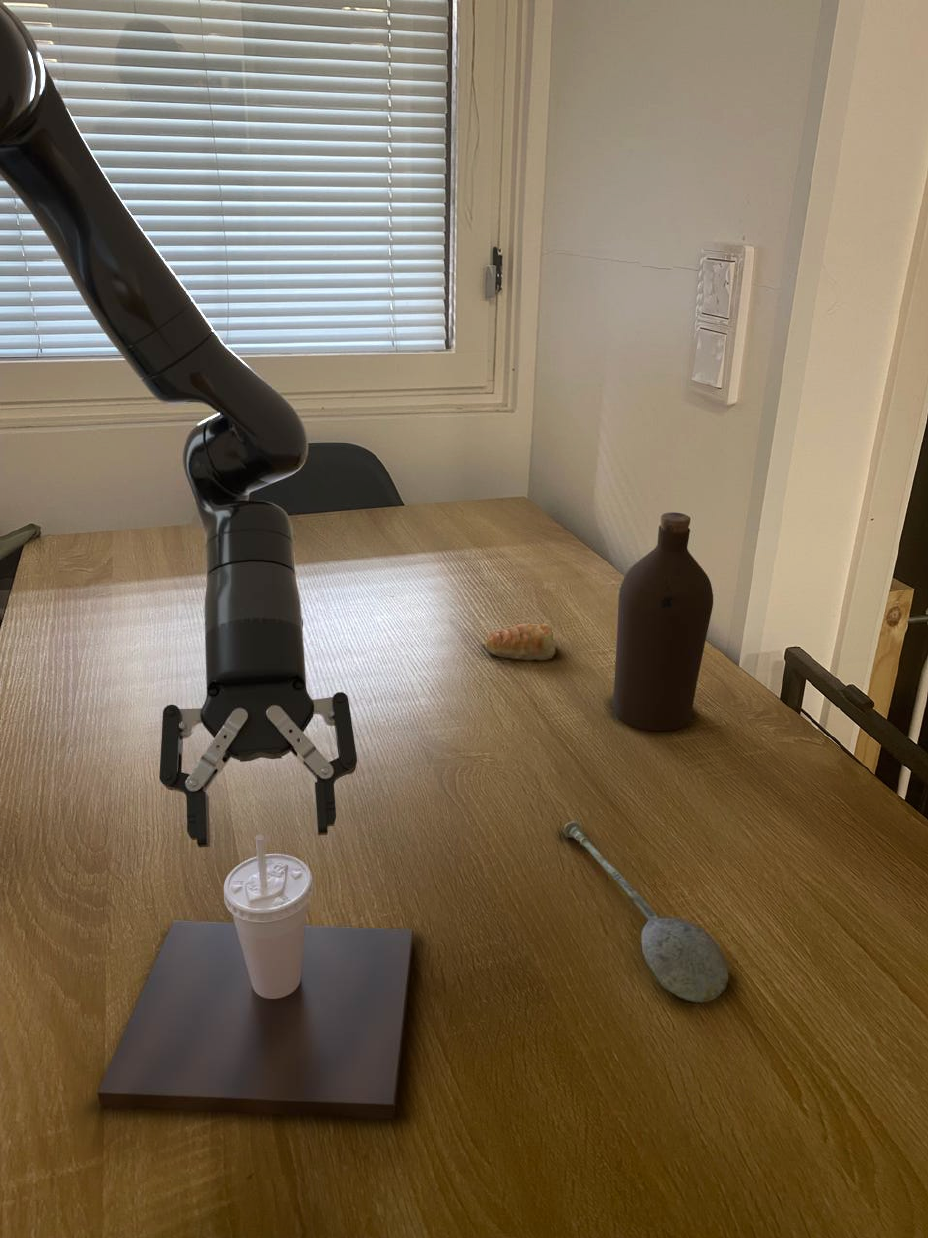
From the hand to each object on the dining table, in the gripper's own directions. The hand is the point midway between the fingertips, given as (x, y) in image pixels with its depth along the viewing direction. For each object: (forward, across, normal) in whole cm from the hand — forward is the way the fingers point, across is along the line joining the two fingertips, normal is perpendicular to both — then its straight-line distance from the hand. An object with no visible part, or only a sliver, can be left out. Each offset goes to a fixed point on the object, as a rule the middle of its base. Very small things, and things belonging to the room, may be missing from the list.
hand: (264, 840), depth 66 cm
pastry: (-27, +34, +47) cm, 64 cm away
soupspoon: (+8, +31, +12) cm, 34 cm away
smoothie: (+10, 0, +8) cm, 12 cm away
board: (+12, 0, +7) cm, 14 cm away
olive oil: (-14, +45, +34) cm, 58 cm away
